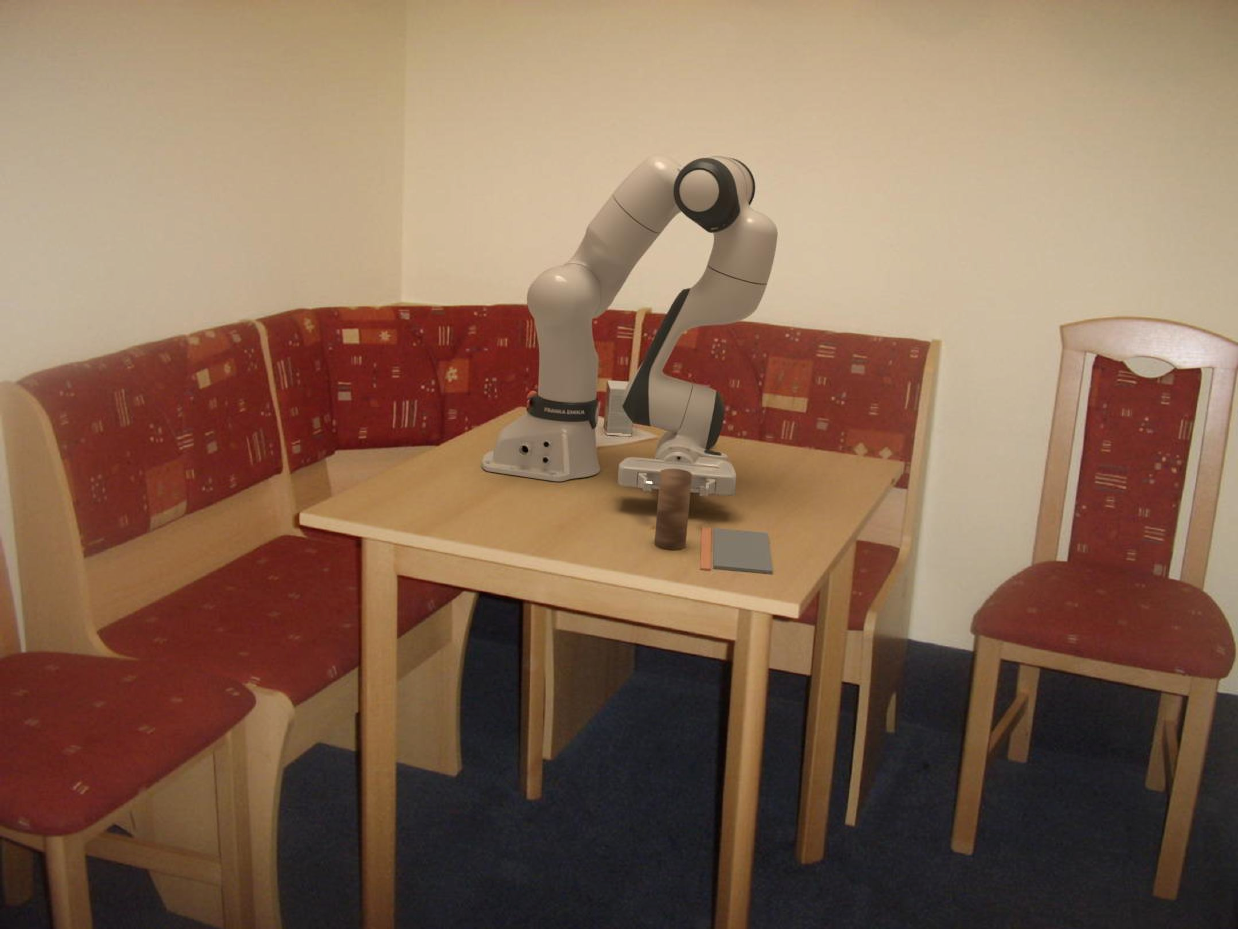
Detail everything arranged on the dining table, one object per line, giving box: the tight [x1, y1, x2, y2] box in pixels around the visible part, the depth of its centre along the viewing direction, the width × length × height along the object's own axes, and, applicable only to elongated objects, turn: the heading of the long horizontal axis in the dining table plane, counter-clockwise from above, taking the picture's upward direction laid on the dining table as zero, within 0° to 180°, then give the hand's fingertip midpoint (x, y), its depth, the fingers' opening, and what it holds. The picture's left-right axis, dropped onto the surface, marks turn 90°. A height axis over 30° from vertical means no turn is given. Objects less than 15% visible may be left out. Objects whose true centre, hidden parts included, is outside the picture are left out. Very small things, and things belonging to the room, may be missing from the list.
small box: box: [603, 379, 634, 434], centre depth 260 cm, size 8×6×10 cm
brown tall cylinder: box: [654, 469, 692, 551], centre depth 192 cm, size 5×5×12 cm
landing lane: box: [699, 525, 774, 575], centre depth 193 cm, size 11×20×1 cm, turn 176°
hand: (675, 489), depth 201 cm, fingers open, 8 cm apart
